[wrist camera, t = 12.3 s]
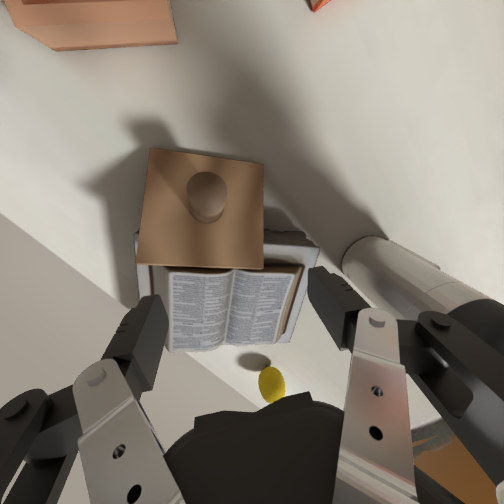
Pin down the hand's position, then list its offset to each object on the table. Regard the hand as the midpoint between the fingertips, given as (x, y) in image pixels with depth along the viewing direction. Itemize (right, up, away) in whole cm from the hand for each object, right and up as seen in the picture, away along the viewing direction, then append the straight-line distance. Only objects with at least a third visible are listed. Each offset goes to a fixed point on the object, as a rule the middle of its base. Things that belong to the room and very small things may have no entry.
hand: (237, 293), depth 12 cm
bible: (-4, -2, +25) cm, 26 cm away
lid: (-5, +7, +15) cm, 17 cm away
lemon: (+4, -24, +38) cm, 45 cm away
